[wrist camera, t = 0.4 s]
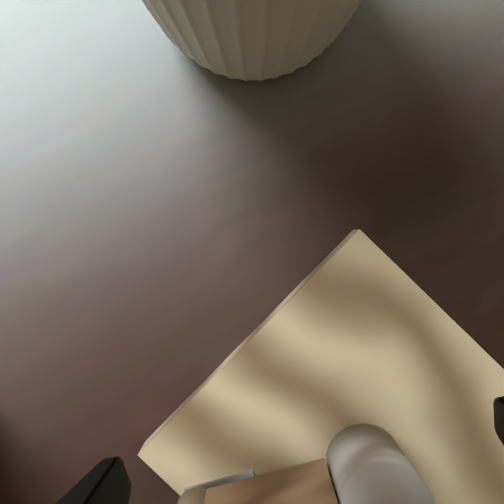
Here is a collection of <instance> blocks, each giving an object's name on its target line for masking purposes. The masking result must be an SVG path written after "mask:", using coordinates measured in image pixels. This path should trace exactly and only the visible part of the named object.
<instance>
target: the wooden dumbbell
mask: <svg viewBox="0 0 504 504" xmlns="http://www.w3.org/2000/svg"><path fill="white" fill-rule="evenodd" d="M177 504H435V502H434V499H433V497H432V495H431V493H430V491H429V490H428V488H427V487H426V485H425V484H424V482H423V481H422V479H421V478H420V476H419V475H418V474H417V472H416V471H415V469H414V468H413V466H412V465H411V463H410V462H409V460H408V459H407V458H406V456H405V455H404V453H403V452H402V450H401V449H400V447H399V446H398V444H397V443H396V442H395V440H394V439H393V437H392V436H391V435H390V434H389V433H388V432H387V431H385V430H384V429H382V428H380V427H378V426H375V425H372V424H355V425H351V426H348V427H346V428H344V429H343V430H341V431H340V432H339V433H338V434H336V436H335V437H334V438H333V439H332V441H331V442H330V444H329V447H328V449H327V454H326V462H325V459H324V458H322V459H318V460H314V461H310V462H307V463H303V464H299V465H295V466H291V467H288V468H284V469H280V470H276V471H272V472H269V473H265V474H261V475H257V476H254V477H250V478H246V479H242V480H238V481H235V482H231V483H227V484H223V485H219V486H216V487H212V488H208V489H206V488H201V487H195V488H191V489H189V490H187V491H185V492H184V493H183V494H182V495H181V496H179V499H178V502H177Z"/></svg>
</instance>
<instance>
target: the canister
mask: <svg viewBox="0 0 504 504" xmlns="http://www.w3.org/2000/svg"><path fill="white" fill-rule="evenodd" d="M142 1H143V3H144V4H145V6H146V7H147V9H148V10H149V12H150V13H151V15H152V16H153V17H154V19H155V20H156V21H157V23H158V24H159V25H160V27H161V28H162V30H163V31H164V33H165V34H166V35H167V37H168V38H169V39H170V40H171V41H172V42H173V43H174V44H175V45H176V46H177V47H179V49H180V50H181V51H182V52H183V53H184V55H186V56H187V57H188V58H190V59H193V60H194V61H195V62H196V63H197V64H198V65H199V66H201V67H203V68H207V69H209V70H211V71H212V72H213V73H214V74H217V75H224V76H227V77H228V78H230V79H241V80H244V81H249V80H258V81H263V80H264V79H269V78H274V79H276V78H278V77H279V76H281V75H284V74H291V73H292V72H294V71H295V70H296V69H297V68H299V67H304V66H306V65H307V64H308V63H309V62H310V61H311V60H312V59H313V58H315V57H317V56H319V55H320V54H322V53H323V51H324V50H325V49H326V48H327V46H328V45H330V44H331V43H332V42H333V41H334V40H335V39H336V38H337V37H338V35H339V34H340V33H341V31H342V30H343V28H344V26H345V25H346V24H347V23H348V21H349V20H350V19H351V17H352V16H353V14H354V13H355V11H356V10H357V8H358V6H359V5H360V3H361V2H362V0H142Z"/></svg>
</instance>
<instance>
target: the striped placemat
mask: <svg viewBox="0 0 504 504" xmlns="http://www.w3.org/2000/svg"><path fill="white" fill-rule="evenodd" d="M502 396H504V369H503V368H502V367H501V366H500V365H499V364H498V363H497V362H496V361H495V360H494V359H493V358H491V357H490V356H489V355H488V354H487V353H486V352H485V351H484V350H483V349H482V348H481V347H480V346H479V345H478V344H477V343H476V342H475V341H474V340H473V339H472V338H471V337H470V336H469V335H468V334H467V333H466V332H465V331H464V330H463V329H462V328H461V327H460V326H459V325H458V324H457V323H456V322H455V321H453V320H452V319H451V318H450V317H449V316H448V315H447V314H446V313H445V312H444V311H443V310H442V309H441V308H440V307H439V306H438V305H437V304H436V303H435V302H434V301H433V300H432V299H431V298H430V297H429V296H428V295H427V294H426V293H425V292H424V291H423V290H422V289H421V288H420V287H419V286H418V285H416V284H415V283H414V282H413V281H412V280H411V279H410V278H409V277H408V276H407V275H406V274H405V273H404V272H403V271H402V270H401V269H400V268H399V267H398V266H397V265H396V264H395V263H394V262H393V261H392V260H391V259H390V258H389V257H388V256H387V255H386V254H385V253H384V252H383V251H382V250H381V249H380V248H378V247H377V246H376V245H375V244H374V243H373V242H372V241H371V240H370V239H369V238H368V237H367V236H366V235H365V234H364V233H363V232H362V231H361V230H360V229H357V230H352V231H351V232H350V233H349V234H348V235H347V236H346V237H345V238H344V239H343V240H342V241H341V242H340V243H339V244H338V245H337V246H336V247H335V248H334V249H333V250H332V251H331V252H330V254H329V255H328V256H327V257H326V258H325V259H324V260H323V261H322V262H321V263H320V264H319V265H318V266H317V267H316V268H315V269H314V270H313V271H312V272H311V273H310V274H309V275H308V276H307V277H306V278H305V279H304V280H303V281H302V282H301V283H300V284H299V285H298V286H297V287H296V288H295V289H294V290H293V291H292V292H291V293H290V294H289V295H288V296H287V297H286V298H285V299H284V300H283V301H282V302H281V303H280V304H279V305H278V306H277V307H276V309H275V310H274V311H273V312H272V313H271V314H270V315H269V316H268V317H267V318H266V319H265V320H264V321H263V322H262V323H261V324H260V325H259V326H258V327H257V328H256V329H255V330H254V331H253V332H252V333H251V334H250V335H249V336H248V337H247V338H246V339H245V340H244V341H243V342H242V343H241V344H240V345H239V346H238V347H237V348H236V349H235V350H234V351H233V352H232V353H231V354H230V355H229V356H228V357H227V358H226V359H225V360H224V361H223V362H222V364H221V365H220V366H219V367H218V368H217V369H216V370H215V371H214V372H213V373H212V374H211V375H210V376H209V377H208V378H207V379H206V380H205V381H204V382H203V383H202V384H201V385H200V386H199V387H198V388H197V389H196V390H195V391H194V392H193V393H192V394H191V395H190V396H189V397H188V398H187V399H186V400H185V401H184V402H183V403H182V404H181V405H180V406H179V407H178V408H177V409H176V410H175V411H174V412H173V413H172V414H171V415H170V416H169V417H168V419H167V420H166V421H165V422H164V423H163V424H162V425H161V426H160V427H159V428H158V429H157V430H156V431H155V432H154V433H153V434H152V435H151V436H150V437H149V438H148V439H147V440H146V441H145V443H144V445H143V446H142V448H141V450H140V452H139V453H138V456H139V457H140V458H141V459H142V460H143V461H144V462H145V463H146V464H147V465H148V466H150V467H151V468H152V469H153V470H154V471H155V472H156V473H157V474H158V475H159V476H160V477H161V478H162V479H163V480H164V481H165V482H166V483H167V484H168V485H170V486H171V487H172V488H173V489H174V490H175V491H176V492H177V493H178V494H179V495H180V496H181V495H182V494H183V493H184V492H185V491H187V490H189V489H191V488H195V487H201V488H206V489H208V488H212V487H216V486H219V485H223V484H227V483H231V482H235V481H238V480H242V479H246V478H250V477H254V476H257V475H261V474H265V473H269V472H272V471H276V470H280V469H284V468H288V467H291V466H295V465H299V464H303V463H307V462H310V461H314V460H318V459H322V458H324V459H325V462H326V454H327V449H328V447H329V444H330V442H331V441H332V439H333V438H334V437H335V436H336V434H338V433H339V432H340V431H341V430H343V429H344V428H346V427H348V426H351V425H355V424H372V425H375V426H378V427H380V428H382V429H384V430H385V431H387V432H388V433H389V434H390V435H391V436H392V437H393V439H394V440H395V442H396V443H397V444H398V446H399V447H400V449H401V450H402V452H403V453H404V455H405V456H406V458H407V459H408V460H409V462H410V463H411V465H412V466H413V468H414V469H415V471H416V472H417V474H418V475H419V476H420V478H421V479H422V481H423V482H424V484H425V485H426V487H427V488H428V490H429V491H430V493H431V495H432V497H433V499H434V502H435V504H504V445H503V444H502V442H501V441H500V440H499V438H498V436H497V434H496V432H495V428H494V410H493V401H494V399H495V398H497V397H502Z"/></svg>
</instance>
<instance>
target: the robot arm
mask: <svg viewBox="0 0 504 504" xmlns="http://www.w3.org/2000/svg"><path fill="white" fill-rule="evenodd" d="M493 410H494V428H495V432H496V434H497V436H498V438H499V440H500V441H501V442H502V444H503V445H504V396H502V397H497V398H495V399H494V401H493ZM130 493H131V481H130V478H129V475H128V473H127V470H126V467H125V465H124V462H123V460H122V458H120V457H111V458H105V459H103V460H102V461H100V462H99V463H98V464H97V465H96V466H95V467H94V468H93V469H92V470H91V471H90V472H89V473H88V474H87V475H85V476H84V477H83V478H82V479H81V480H80V481H79V482H78V483H77V484H76V485H75V486H74V487H73V488H72V489H70V490H69V491H68V492H67V493H66V494H65V495H64V496H63V497H62V498H61V499H60V500H59V501H58V502H57V503H56V504H128V502H129V498H130Z"/></svg>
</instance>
